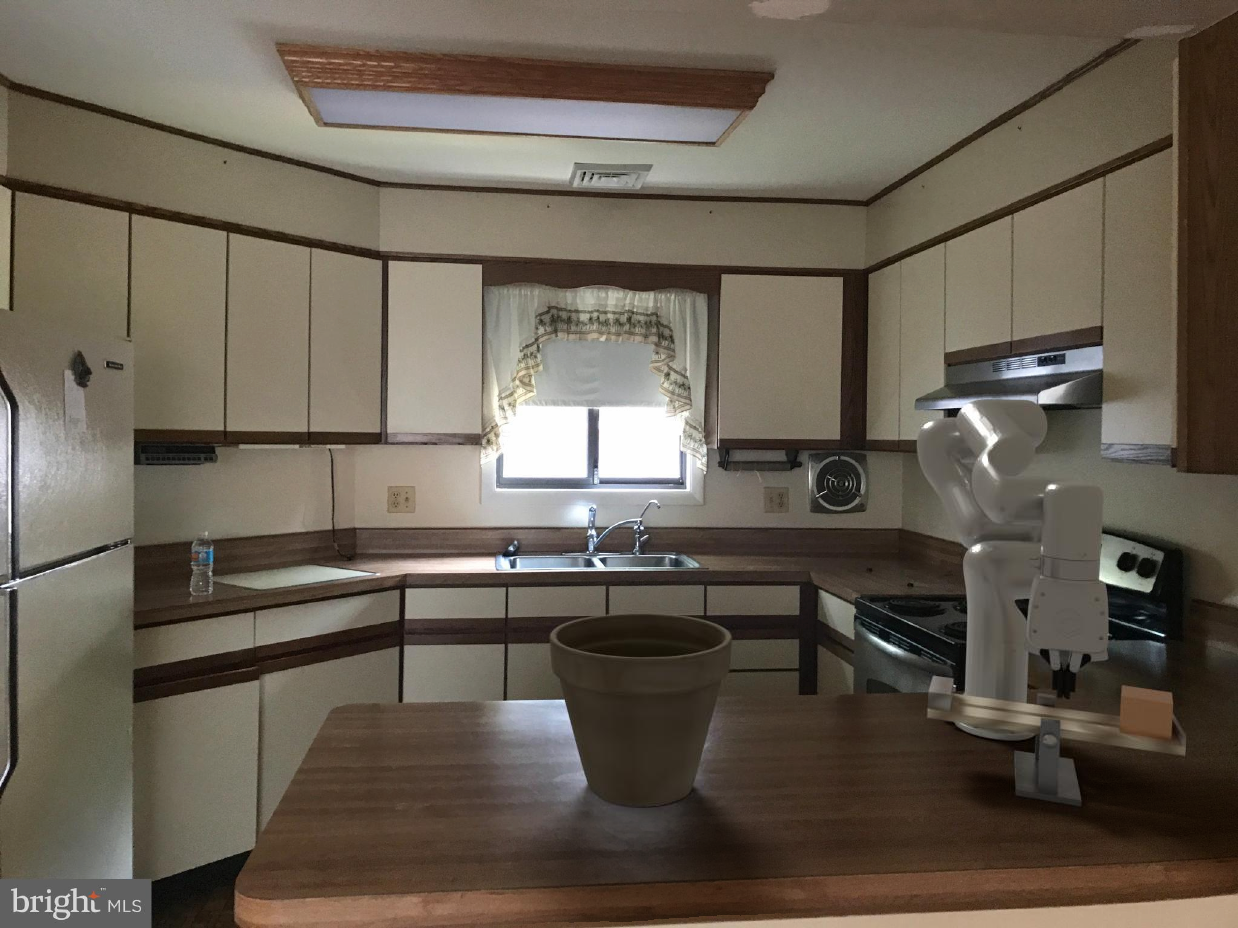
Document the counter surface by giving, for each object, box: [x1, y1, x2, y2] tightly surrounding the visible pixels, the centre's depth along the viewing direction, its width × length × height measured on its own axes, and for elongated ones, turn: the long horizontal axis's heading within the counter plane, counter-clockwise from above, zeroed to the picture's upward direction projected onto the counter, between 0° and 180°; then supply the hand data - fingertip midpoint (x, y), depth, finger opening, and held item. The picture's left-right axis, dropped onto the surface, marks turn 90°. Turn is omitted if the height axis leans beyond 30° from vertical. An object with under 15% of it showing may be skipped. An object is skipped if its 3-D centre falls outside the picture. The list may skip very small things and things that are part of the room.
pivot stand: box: [1014, 692, 1083, 807], centre depth 125 cm, size 8×16×10 cm, turn 156°
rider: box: [1119, 684, 1174, 741], centre depth 120 cm, size 6×6×6 cm
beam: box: [926, 675, 1187, 757], centre depth 125 cm, size 32×10×4 cm, turn 66°
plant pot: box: [549, 612, 733, 808], centre depth 121 cm, size 25×25×22 cm
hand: (1062, 695), depth 125 cm, fingers closed
